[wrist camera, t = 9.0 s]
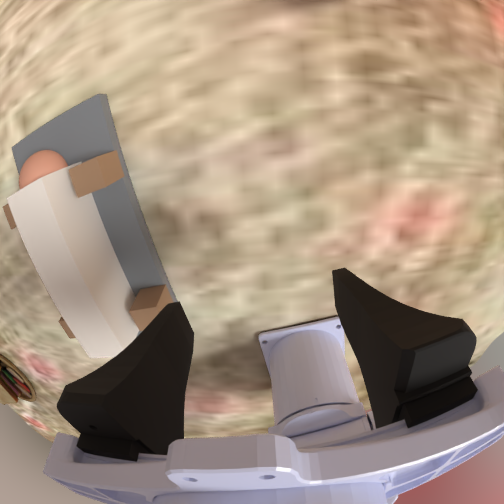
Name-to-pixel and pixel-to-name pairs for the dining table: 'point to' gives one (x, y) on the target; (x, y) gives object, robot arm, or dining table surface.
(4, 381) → the toy sandwich meal
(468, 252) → the dining table surface
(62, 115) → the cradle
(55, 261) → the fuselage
